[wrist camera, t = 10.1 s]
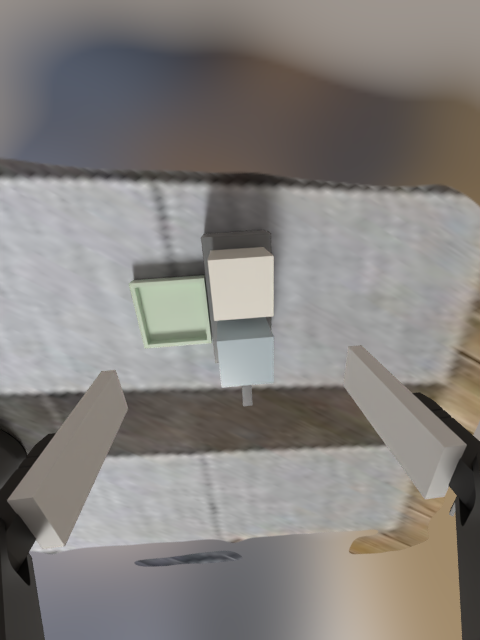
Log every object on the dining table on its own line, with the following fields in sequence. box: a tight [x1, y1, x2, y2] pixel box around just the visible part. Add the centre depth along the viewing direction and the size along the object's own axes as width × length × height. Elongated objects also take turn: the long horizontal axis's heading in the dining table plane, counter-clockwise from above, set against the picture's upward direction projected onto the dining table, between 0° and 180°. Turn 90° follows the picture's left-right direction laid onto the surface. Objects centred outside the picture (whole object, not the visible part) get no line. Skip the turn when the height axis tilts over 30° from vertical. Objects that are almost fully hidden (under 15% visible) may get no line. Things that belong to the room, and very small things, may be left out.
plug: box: [208, 247, 274, 321], centre depth 29 cm, size 6×6×11 cm
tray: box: [129, 275, 212, 349], centre depth 36 cm, size 10×10×2 cm
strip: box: [201, 230, 274, 406], centre depth 32 cm, size 8×21×12 cm, turn 3°
